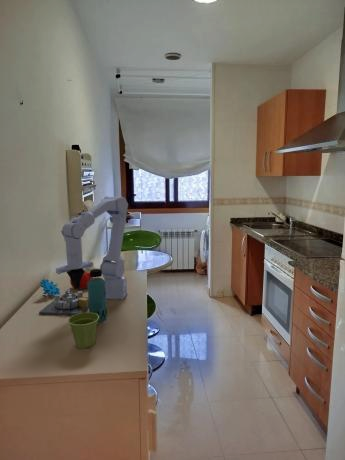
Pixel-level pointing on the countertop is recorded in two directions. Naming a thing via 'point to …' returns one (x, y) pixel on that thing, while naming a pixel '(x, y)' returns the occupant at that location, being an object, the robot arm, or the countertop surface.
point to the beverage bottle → (97, 295)
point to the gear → (49, 287)
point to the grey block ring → (71, 301)
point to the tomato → (83, 280)
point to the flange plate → (62, 310)
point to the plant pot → (84, 328)
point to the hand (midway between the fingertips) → (76, 288)
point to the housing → (64, 296)
